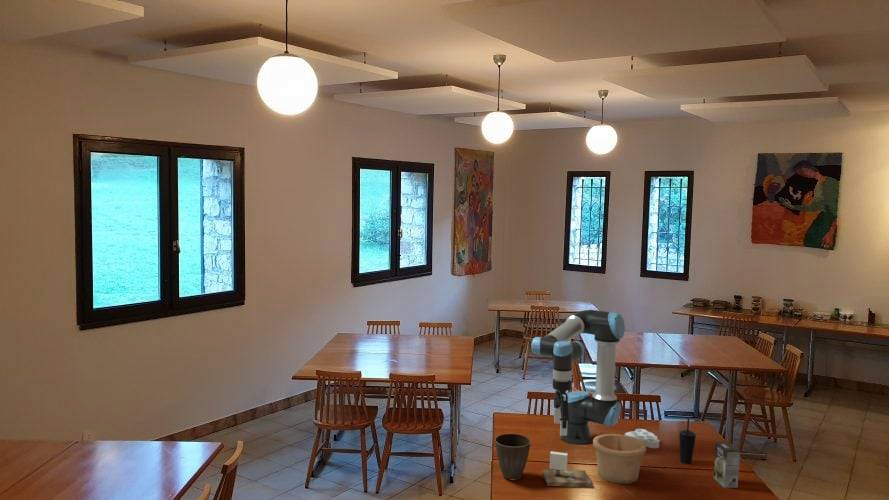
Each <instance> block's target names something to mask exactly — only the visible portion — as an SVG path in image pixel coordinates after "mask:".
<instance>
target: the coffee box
mask: <svg viewBox="0 0 889 500" xmlns="http://www.w3.org/2000/svg"><path fill="white" fill-rule="evenodd" d="M714 448H715V449H714V464H713V480H715V481H716V482H717V483H718V484H719V485H720V486H721V487H722V488H723V489H724V488H725V489H727V488H729V489H731V488H738V486H739V473H740V461H741V460H740V459H741V458H740V457H741V450H740V448H737V447H736V446H735V445H734V444H733V443H731V442H724V441H715V446H714Z"/></svg>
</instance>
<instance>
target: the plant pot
mask: <svg viewBox="0 0 889 500" xmlns="http://www.w3.org/2000/svg"><path fill="white" fill-rule="evenodd" d="M531 441H532V440H531V439H530V438H529V437H527V436H526V435H522V434H517V433H503V434H500V435H497V436H495V439H494V443H495V451H496V457H497V461H498V465H499V467H500V471H501V474H502V477H503V476H504V477H505V478H507V479H514V480H513V481H516V480H515V479H519V478H520V479H521V478H522V475H523V473H524V471H525V468H526V466H527V465H526V464H527V461H528V459H529V458H528V457H529V453H530V447H531ZM504 477H503V478H504ZM505 478H504V479H505ZM507 479H506V480H507ZM520 479H519V480H520Z"/></svg>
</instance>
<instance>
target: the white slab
mask: <svg viewBox="0 0 889 500" xmlns="http://www.w3.org/2000/svg"><path fill="white" fill-rule="evenodd" d="M568 455H569V454H568V453H567V452H558V451H550V453H549V470H556V475H560V470H564V471H567V470H568V457H569V456H568ZM561 475H564V476H572V477H575V475H572V474H564V473H561Z"/></svg>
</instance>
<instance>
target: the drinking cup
mask: <svg viewBox="0 0 889 500" xmlns="http://www.w3.org/2000/svg"><path fill="white" fill-rule="evenodd" d="M686 423H687V424H686V425H687V427H686V428H685V429H680V430H678V436H679V440H678V442H679V460H680V461H679V462H680V463H682V464H684V465H691V464H692V462H693V455H694V449H695V445H696V444H695V443H696V437H697V432H695V431H693V430H691V429H689V427H690V418H687V422H686Z"/></svg>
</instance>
